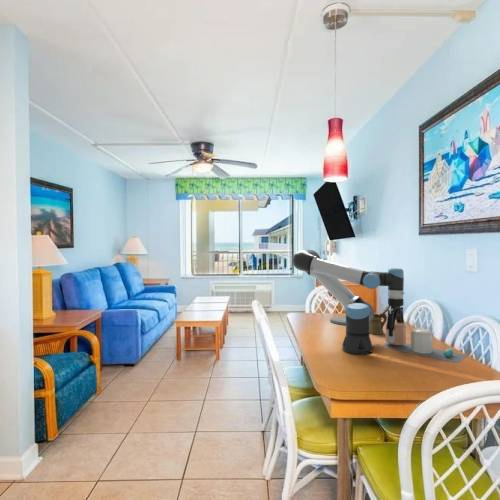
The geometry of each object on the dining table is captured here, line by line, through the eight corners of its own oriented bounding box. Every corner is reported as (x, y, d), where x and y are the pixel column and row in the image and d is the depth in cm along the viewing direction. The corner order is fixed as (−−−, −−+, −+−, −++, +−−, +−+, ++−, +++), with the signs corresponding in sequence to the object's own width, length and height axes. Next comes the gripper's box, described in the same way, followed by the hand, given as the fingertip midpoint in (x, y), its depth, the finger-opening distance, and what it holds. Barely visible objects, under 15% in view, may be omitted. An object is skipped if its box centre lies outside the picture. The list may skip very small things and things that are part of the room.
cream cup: (428, 354, 164) (428, 333, 164) (408, 350, 171) (408, 330, 171) (434, 350, 171) (434, 330, 171) (415, 346, 177) (415, 327, 177)
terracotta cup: (400, 345, 174) (400, 326, 173) (383, 342, 180) (383, 323, 180) (407, 342, 180) (407, 323, 180) (390, 339, 186) (390, 320, 186)
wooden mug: (391, 335, 205) (392, 305, 205) (368, 334, 209) (368, 304, 208) (389, 332, 214) (390, 303, 213) (367, 330, 217) (367, 302, 217)
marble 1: (449, 358, 159) (449, 352, 159) (442, 357, 161) (442, 350, 161) (451, 357, 161) (451, 350, 161) (444, 355, 163) (444, 349, 163)
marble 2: (452, 356, 161) (452, 350, 161) (445, 355, 163) (445, 349, 163) (454, 355, 163) (454, 349, 163) (447, 353, 166) (447, 347, 165)
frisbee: (329, 319, 252) (329, 315, 252) (368, 320, 247) (368, 317, 247) (331, 325, 232) (331, 321, 232) (372, 327, 227) (372, 323, 227)
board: (457, 366, 152) (457, 363, 152) (379, 349, 178) (379, 346, 178) (467, 358, 163) (467, 355, 163) (392, 343, 189) (392, 340, 189)
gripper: (394, 301, 169) (393, 346, 170) (411, 296, 185) (410, 338, 185) (379, 299, 175) (379, 343, 175) (397, 295, 190) (396, 335, 190)
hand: (395, 340), depth 180 cm, fingers closed on terracotta cup, 9 cm apart
